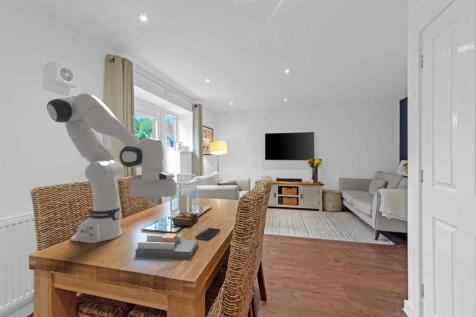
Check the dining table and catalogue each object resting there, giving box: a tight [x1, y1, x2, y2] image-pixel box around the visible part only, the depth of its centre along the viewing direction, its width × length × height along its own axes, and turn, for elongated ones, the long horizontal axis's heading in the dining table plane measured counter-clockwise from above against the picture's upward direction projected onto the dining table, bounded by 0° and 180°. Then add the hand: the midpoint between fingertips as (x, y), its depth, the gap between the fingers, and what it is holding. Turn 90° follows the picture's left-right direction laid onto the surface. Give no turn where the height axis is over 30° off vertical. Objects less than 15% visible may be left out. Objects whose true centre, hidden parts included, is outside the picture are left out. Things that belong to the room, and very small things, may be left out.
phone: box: [194, 227, 221, 242], centre depth 111 cm, size 8×1×15 cm
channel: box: [135, 234, 199, 259], centre depth 92 cm, size 23×12×5 cm, turn 86°
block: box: [162, 232, 178, 245], centre depth 92 cm, size 5×5×4 cm
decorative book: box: [171, 211, 199, 227], centre depth 130 cm, size 11×16×5 cm
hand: (152, 206), depth 92 cm, fingers closed
